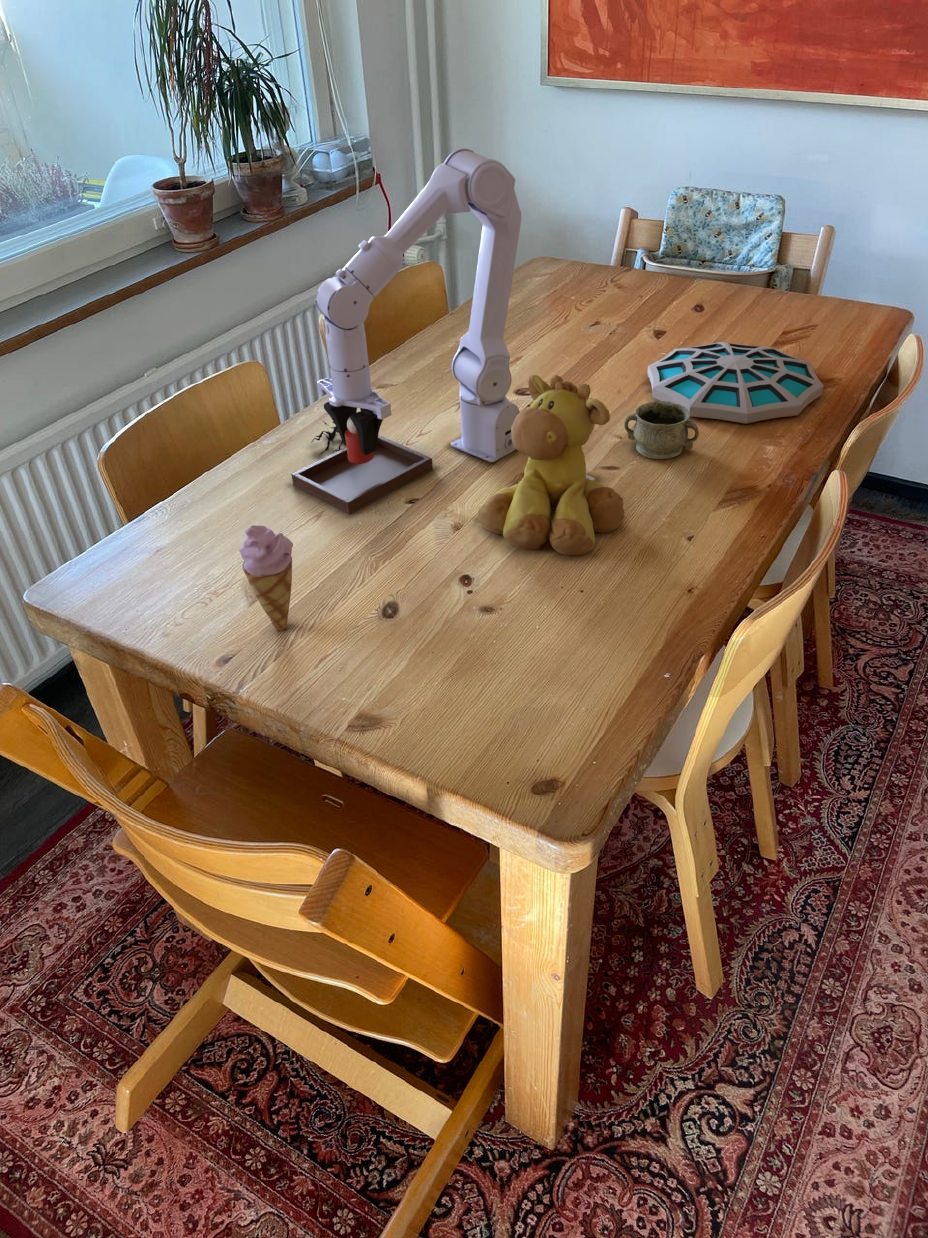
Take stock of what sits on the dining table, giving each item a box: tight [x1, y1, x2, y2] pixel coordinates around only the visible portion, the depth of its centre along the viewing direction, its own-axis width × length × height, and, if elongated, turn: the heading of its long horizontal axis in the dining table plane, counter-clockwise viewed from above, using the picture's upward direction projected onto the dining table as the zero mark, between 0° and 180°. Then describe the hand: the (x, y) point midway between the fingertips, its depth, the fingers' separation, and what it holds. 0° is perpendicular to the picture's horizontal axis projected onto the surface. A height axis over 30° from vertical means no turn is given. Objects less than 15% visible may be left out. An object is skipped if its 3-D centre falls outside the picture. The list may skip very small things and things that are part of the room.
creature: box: [310, 419, 343, 457], centre depth 156 cm, size 8×5×8 cm
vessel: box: [623, 400, 700, 460], centre depth 150 cm, size 12×9×6 cm
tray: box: [290, 434, 434, 515], centre depth 148 cm, size 14×18×2 cm
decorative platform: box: [646, 341, 824, 425], centre depth 167 cm, size 31×29×5 cm
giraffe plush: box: [477, 374, 626, 556], centre depth 132 cm, size 20×24×19 cm
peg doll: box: [345, 417, 374, 464], centre depth 144 cm, size 4×4×7 cm
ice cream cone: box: [238, 525, 294, 632], centre depth 115 cm, size 7×6×15 cm
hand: (359, 447), depth 145 cm, fingers closed on peg doll, 4 cm apart
